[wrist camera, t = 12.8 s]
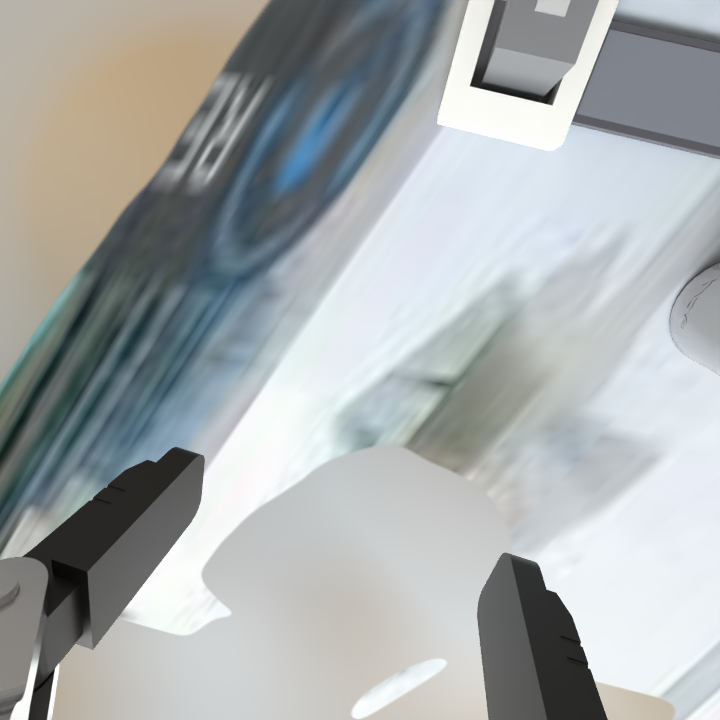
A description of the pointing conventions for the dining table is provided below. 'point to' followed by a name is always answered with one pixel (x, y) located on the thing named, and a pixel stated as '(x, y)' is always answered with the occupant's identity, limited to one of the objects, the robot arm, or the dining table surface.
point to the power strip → (508, 113)
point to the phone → (655, 89)
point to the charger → (536, 45)
